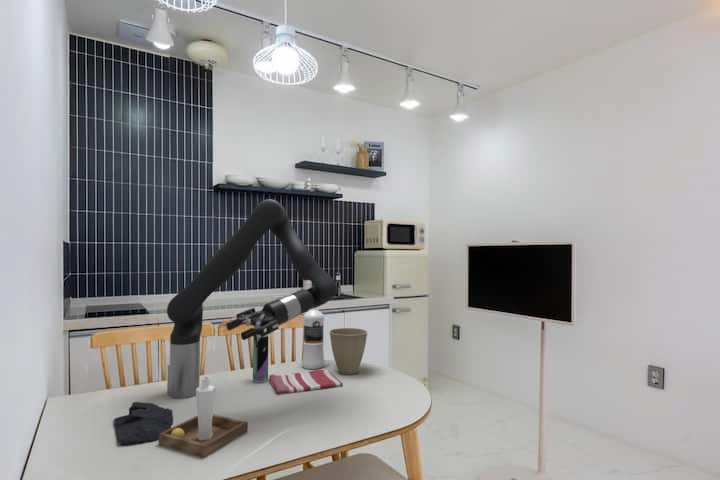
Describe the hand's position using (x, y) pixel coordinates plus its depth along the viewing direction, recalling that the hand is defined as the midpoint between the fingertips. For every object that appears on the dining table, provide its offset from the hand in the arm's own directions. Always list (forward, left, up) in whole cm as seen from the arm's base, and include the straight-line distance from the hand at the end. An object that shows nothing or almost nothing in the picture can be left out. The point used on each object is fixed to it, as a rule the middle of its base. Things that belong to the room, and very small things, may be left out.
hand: (234, 332), depth 118 cm
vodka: (-8, +56, -25) cm, 62 cm away
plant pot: (+8, +56, -25) cm, 62 cm away
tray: (+1, -12, -25) cm, 28 cm away
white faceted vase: (+1, -11, -25) cm, 27 cm away
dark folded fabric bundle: (-19, -13, -26) cm, 35 cm away
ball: (-4, -16, -25) cm, 30 cm away
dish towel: (0, +37, -26) cm, 45 cm away
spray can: (-16, +32, -25) cm, 44 cm away
